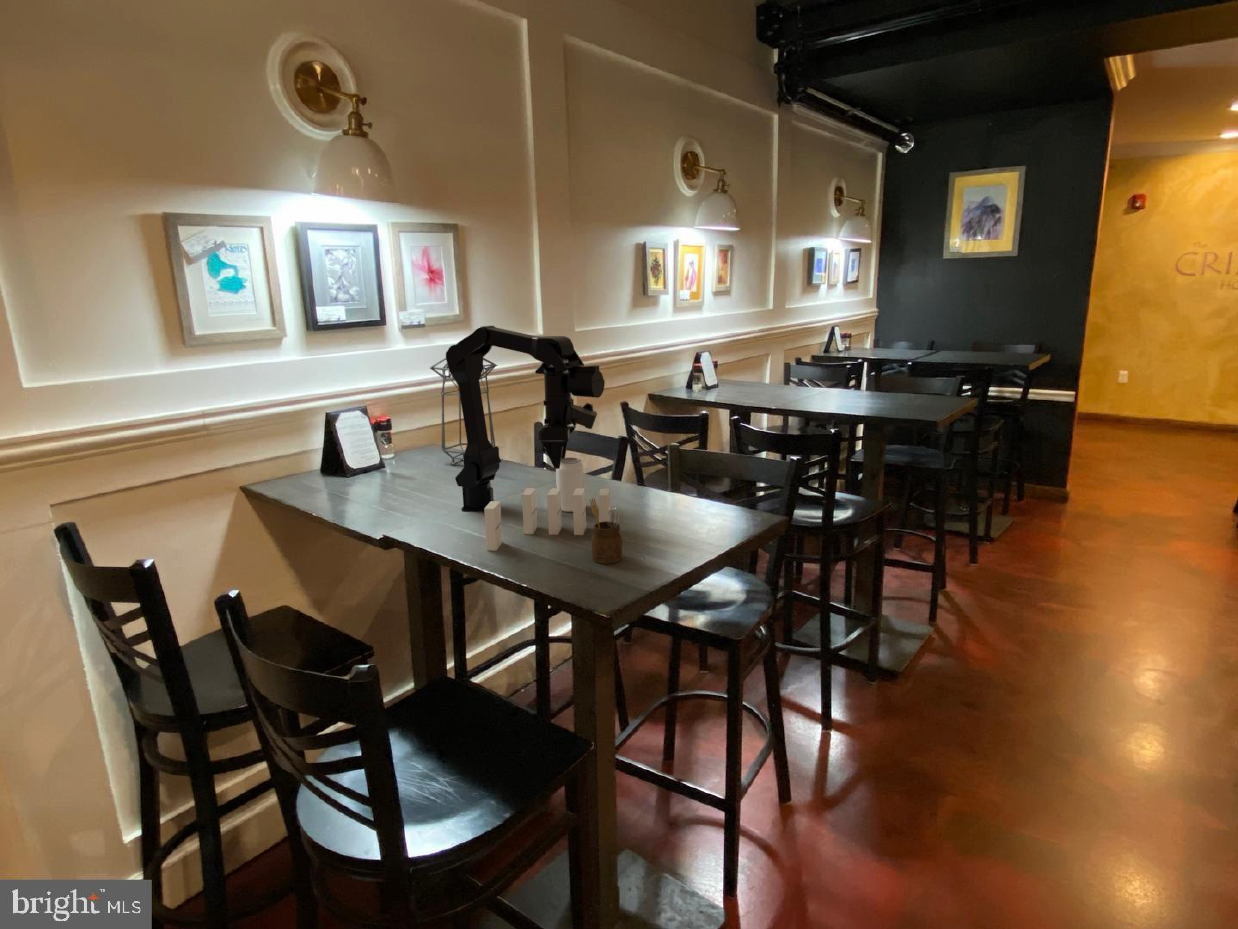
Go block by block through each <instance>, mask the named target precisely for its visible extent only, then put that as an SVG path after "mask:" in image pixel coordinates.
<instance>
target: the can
mask: <svg viewBox="0 0 1238 929" xmlns="http://www.w3.org/2000/svg"><path fill="white" fill-rule="evenodd" d="M555 478H556V483H555V484H556V488H560V494H561V512H565V513H573V493H574V491H575V490H576V489H585V488H584V487H585V486H584V466H583V464H582V459H581V458H578V457H565V458H564V459H561V463H560V468H559V469H555Z"/></svg>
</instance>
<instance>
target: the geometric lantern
mask: <svg viewBox="0 0 1238 929" xmlns="http://www.w3.org/2000/svg"><path fill="white" fill-rule="evenodd" d="M444 361H446V357H444V358H442V359H441V360H439V361H438V362H436V363H434V364H433V365H431V366H430V367H429V369H430V370H431V371H433V372H435V373H436V374H437V375H438V376H439V377H441V378H442V389H441V392H440V395H441V451H442V452H443V453H445V455H447V456H448V457H449V458H451V459H452V460H451V463H452V462H453V463H454V462H455V459H456V460H461V459H464V453H465V450H464V449H463V447H462V446H467V442H463V443H462V405H461V399H460V393H459V386H458V383H457V381H456V380H455V379H454V377H453V376H452V374H451V373H450V371H449V367H448V364H447V362H446V363H445V364H444V365H443V366H442V367H437V366H438V365H440V364H442V363H443V362H444ZM483 362H486V363H488V364H483V370H482V373H481V376H480V381H481V384H482V386H483V389H484V390H483V389H481V395H482V394H486V401H487V402H486V403H487V411H488V423H489V432H490V443H491V444H492V446H493V447H495V446H496V441H495V440H496V439H495V433H494V426H493V419H492V411H491V404H490V397H489V396H490V394H489V392H490V390H489V382H488V376H489V374H490V373H491V372H492V371H493V370H494V369H495V368H496V367H498V364H497V363H494V362H492V361H490V360H489V359H487V358H485V357H483ZM438 370H439V371H438ZM440 371H442V372H440ZM446 371H448V375H446ZM483 379H485V385H486V387H485V385H484V381H483ZM447 381H451V382H452V383H453V385H454V386H455V388H457V389H455V390H451V391H445V384H446V382H447ZM455 392H458V393H455ZM445 396H456V397H457V396H458V417H459V418H458V420H459V421H458V426H459V427H458V428H459V429H458V430H459V431H458V432H459V435H458V436H459V438H458V439H459V440H458V441H459V442H458V443H457V444H454V445H451V446H448V447H446V434H445V432H446V431H445V430H446V429H445V408H444V407H445V401H444V400H445ZM455 447H456V448H457V447H460V449H461V451H458V450H449V449H453V448H455ZM450 453H452V454H453V453H454V454H457V455H455V456H452V455H451V454H450ZM459 456H462V457H459Z"/></svg>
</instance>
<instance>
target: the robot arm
mask: <svg viewBox="0 0 1238 929" xmlns="http://www.w3.org/2000/svg"><path fill="white" fill-rule="evenodd" d="M492 347H497V348H501V349H505V350H510V351H514V352H518V353H523V354H526V355H529V356H531V357H532V358H534V360H537V361H539V362H541V365H540V366H539V367H537V368H536V369H535V371H534V372H535V374H536V375H539V374H540V375H543V378H544V380H543V381H544V382H543V383H544V400H543V406H544V409H545V418H543V422H544V425H543V426H542V427H541V428H540V429H539V430H538V441H540V443H541V445H542V446H543V449H544V450H545V452H546V454H547V457H548V458H549V460H550V462H551V464H552V467H553V468H554V469H555V470H556V469H559V468H560V463H561V459H564V458H566V454H567V453H566V452H567V448H568V443H569V441H570V437H571V436H570V435H571V434H572V433H573V432H574V431H575V430H576V428H577V427H576V426H577V425H580V426H583V427H584V428H586V429H588V430H592V429H593V427H594V424H595V422H596V419H597V416H598V412H597V411H595V410H594V407H593V404H591V403H589V402H586V403H585V404H584V405H583V406H582V405H577V404H574V403H575V402H574V398H573V397H583V398H584V397H585V398H596V399H598V398H600V397H602V395H603V393H604V390H605V384H606V383H605V379H604V376H603V373H602V372H601V371H600V366H599V365H596V364H594V365H585V363H584V361H582V359H581V358H580V356H579V355H578V353H577V352H576V350H575V347H574V344H573V342H572V340H571V339H570V338H569V337H568V336H565V335H564V336H563V335H546V336H544V335H542V336H541V335H539V336H538V335H531V334H527V333H522V332H517V331H514V330H509V329H504V328H501V327H497V326H495V325H482V326H479V327H477V328H476V329H475V330H474V331H473V332H472V333H470V334H469V335H467V336H465V337H464V338H463V339H461V340H459V341H458V342H457V343H456V344H453V345H451V346H449V347H448V349H447V350H446V351H445V352H446V353H445V358H446V360H445V361H446V363H447V364H448V367H449V370H448V372H449V371H450V373H451V374H452V375H451V377H452V376H453V377H454V379H455V380H456V381H457V383H458V385H457V387H458V388H459V391H458V394H459V393H460V399H461V413H462V417H463V423H464V429H465V436H466V443H467V445H466V446H465V450H464V452H465V453H464V460H463V465H464V466H463V468H462V469H461V471H460V472H458V474H457V475H456V476H455V478H454V479H455V482H456V484H457V486H458V487H460V488H461V487H462V490H461V492H462V501H463V503H462V505H463V506H462V507H461V508H460V509H461V511H466V512H467V511H469V512H470V511H471V512H473V511H474V512H475V511H476V512H477V511H478V512H479V511H481V512H484V508H485V507H486V506H487V505H488V504H489V503H490V502H491V501H494V488H493V487H492V484H491V481H494V480H495V477H496V474H497V472H498V471H499V470H500V463H502V460H501V458H500V449H499V446H497V445H495V447H493V446H492V444H491V441H490V440H489V436H488V430H487V423H486V416H485V410H484V404H483V397H482V394H481V393H482V391H481V390H482V389H481V384H480V381H481V379H480V376H481V374H482V371H483V365H484V360H483V358H485V356H486V355H487V354H489V353H490V351H491V349H492ZM455 380H454V381H455ZM457 383H456V384H457ZM572 396H573V397H572Z"/></svg>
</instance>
